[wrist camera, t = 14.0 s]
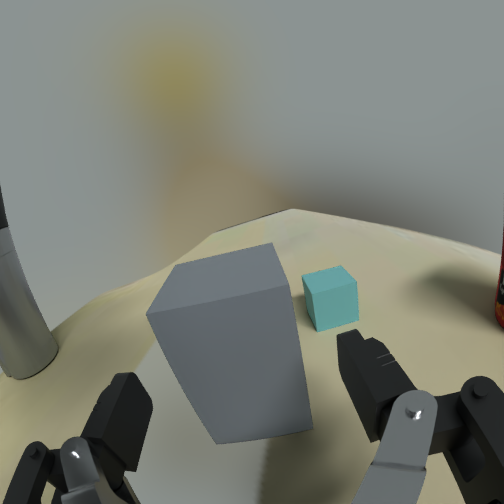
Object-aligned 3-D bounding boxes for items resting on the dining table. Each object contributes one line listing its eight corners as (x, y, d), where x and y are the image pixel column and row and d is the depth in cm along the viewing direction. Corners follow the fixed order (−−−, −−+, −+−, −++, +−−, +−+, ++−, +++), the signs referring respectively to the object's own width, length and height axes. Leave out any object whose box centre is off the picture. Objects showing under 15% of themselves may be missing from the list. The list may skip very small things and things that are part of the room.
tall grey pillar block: (313, 428, 13) (289, 284, 10) (216, 444, 14) (145, 313, 11) (297, 367, 19) (271, 242, 16) (220, 382, 19) (175, 265, 16)
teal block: (359, 320, 23) (356, 281, 22) (317, 333, 23) (311, 293, 22) (344, 301, 27) (340, 265, 25) (307, 311, 27) (301, 275, 25)
